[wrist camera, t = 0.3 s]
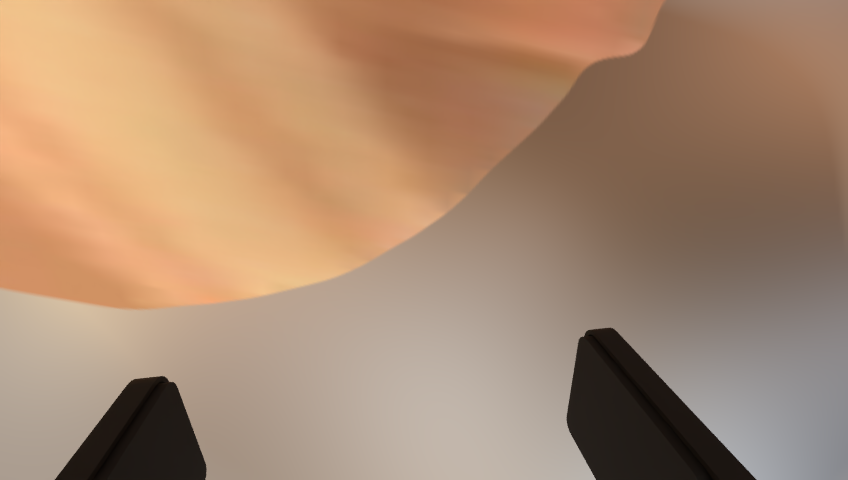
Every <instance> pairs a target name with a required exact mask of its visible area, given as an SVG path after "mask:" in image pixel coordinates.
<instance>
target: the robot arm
mask: <svg viewBox="0 0 848 480" xmlns="http://www.w3.org/2000/svg"><path fill="white" fill-rule="evenodd" d="M567 424H568V428H569V431H570V433H571V435H572V437H573V439H574V440H575V442H576V444H577V446H578V448H579V450H580V451H581V453H582V455H583V457H584V458H585V460H586V462H587V464H588V466H589V468H590V469H591V471H592V473H593V475H594V477H595V478H596V480H756V479H755V478H754V477H753V476H752V475H751V474H750V472H749V471H748V470H746V468H745V467H744V466H743V465H742V464H741V463H740V462H739V461H738V460H737V459H736V458H735V457H734V456H733V454H732V453H731V452H730V451H729V450H728V449H727V448H726V447H725V446H724V445H723V444H722V443H721V442H720V441H719V440H718V438H717V437H716V436H715V435H714V434H713V433H712V432H711V431H710V430H709V429H708V428H707V427H706V426H705V425H704V424H703V423H702V421H700V419H699V418H698V417H697V416H696V415H695V414H694V413H693V412H692V411H691V410H690V409H689V408H688V407H687V406H686V405H685V403H683V401H682V400H681V399H680V398H679V397H678V396H677V395H676V394H675V393H674V392H673V391H672V390H671V389H670V388H669V387H668V385H666V383H665V382H664V381H663V380H662V379H661V378H660V377H659V376H658V375H657V374H656V373H655V372H654V371H653V370H652V368H651V367H649V365H648V364H647V363H646V362H645V361H644V360H643V359H642V358H641V357H640V356H639V355H638V354H637V353H636V352H635V350H634V349H633V348H632V347H631V346H630V345H629V344H628V343H627V342H626V341H625V340H624V339H623V338H622V337H621V336H620V335H619V334H618V332H617V331H615V330H614V329H613V328H603V329H594V330H588V331H587V332H586V333H585V336H584V337H581V338H580V339H579V343H578V349H577V355H576V361H575V368H574V374H573V380H572V387H571V393H570V399H569V405H568V413H567ZM205 478H206V464H205V461H204V458H203V455H202V453H201V450H200V448H199V445H198V442H197V439H196V436H195V434H194V431H193V428H192V426H191V423H190V420H189V418H188V415H187V412H186V409H185V407H184V404H183V401H182V399H181V396H180V393H179V390H178V388H177V386H176V384H175V383H174V382H169V381H168V379H167V378H166V377H163V376H160V377H150V378H141V379H134V380H133V381H131V382H130V383H129V384H128V385H127V386H126V387H125V389H124V390H123V391H122V393H121V394H120V395H119V396H118V398H117V399H116V400H115V402H114V403H113V404H112V406H111V407H110V408H109V410H108V411H107V412H106V414H105V415H104V416H103V418H102V419H101V420H100V421H99V423H98V424H97V425H96V427H95V428H94V429H93V430H92V432H91V433H90V435H89V436H88V437H87V438H86V440H85V441H84V442H83V444H82V445H81V446H80V448H79V449H78V450H77V452H76V453H75V454H74V455H73V457H72V458H71V459H70V461H69V462H68V463H67V465H66V466H65V467H64V469H63V470H62V471H61V472H60V474H59V475H58V476H57V478H56V479H55V480H205Z"/></svg>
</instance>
